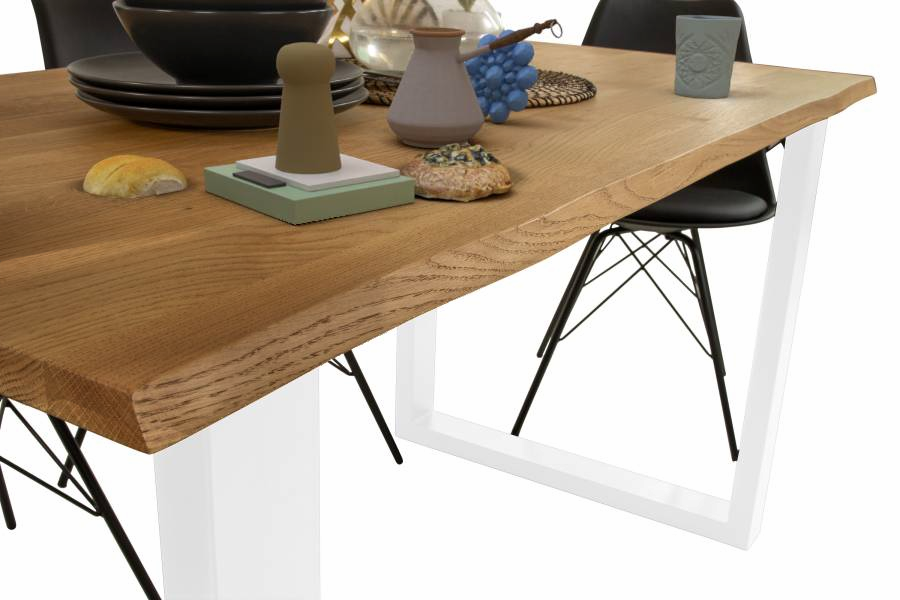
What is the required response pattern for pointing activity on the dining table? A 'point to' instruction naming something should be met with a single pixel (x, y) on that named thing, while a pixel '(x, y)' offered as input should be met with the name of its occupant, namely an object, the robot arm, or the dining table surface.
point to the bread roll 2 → (458, 173)
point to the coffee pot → (443, 87)
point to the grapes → (502, 77)
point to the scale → (310, 188)
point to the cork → (307, 110)
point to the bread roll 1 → (133, 177)
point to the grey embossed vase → (705, 55)
